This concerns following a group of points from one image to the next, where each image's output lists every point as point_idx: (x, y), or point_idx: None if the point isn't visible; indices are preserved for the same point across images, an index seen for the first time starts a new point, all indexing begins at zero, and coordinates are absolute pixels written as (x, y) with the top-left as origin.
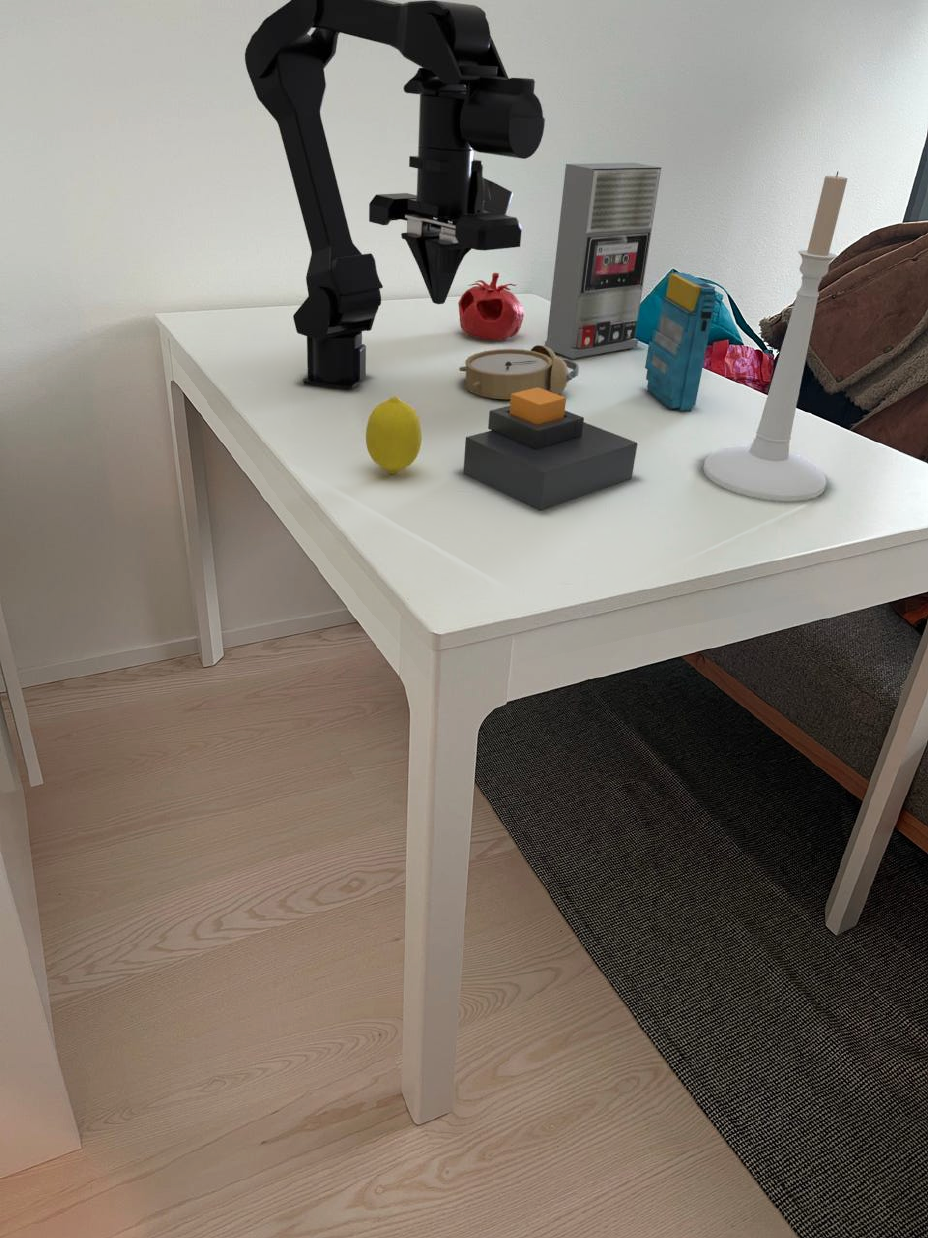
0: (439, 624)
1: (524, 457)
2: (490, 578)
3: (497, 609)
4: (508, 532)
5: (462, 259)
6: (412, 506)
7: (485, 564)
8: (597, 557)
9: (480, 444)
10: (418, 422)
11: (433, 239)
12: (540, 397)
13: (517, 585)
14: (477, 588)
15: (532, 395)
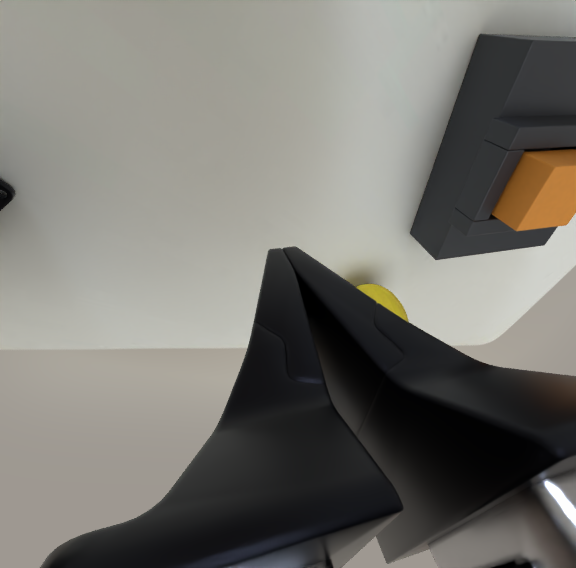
0: (489, 341)
1: (516, 239)
2: (500, 306)
3: (513, 317)
4: (494, 266)
5: (457, 350)
6: (408, 302)
7: (492, 300)
8: (568, 235)
9: (458, 256)
10: (407, 318)
11: (404, 553)
12: (565, 202)
13: (518, 298)
14: (496, 316)
15: (551, 207)
